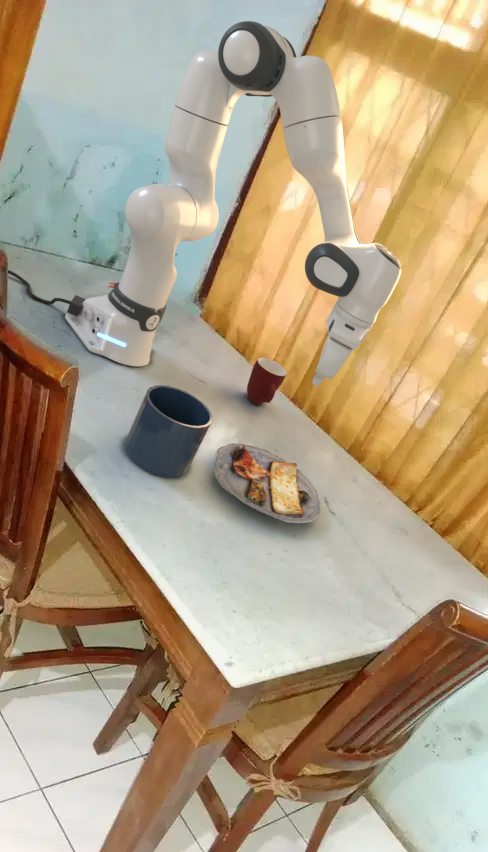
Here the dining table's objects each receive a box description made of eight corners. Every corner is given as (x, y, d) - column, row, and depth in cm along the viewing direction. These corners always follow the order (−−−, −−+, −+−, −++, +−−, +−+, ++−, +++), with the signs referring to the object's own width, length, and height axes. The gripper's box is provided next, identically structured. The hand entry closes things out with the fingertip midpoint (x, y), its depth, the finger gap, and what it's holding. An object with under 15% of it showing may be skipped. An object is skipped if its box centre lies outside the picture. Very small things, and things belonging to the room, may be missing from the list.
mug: (277, 418, 178) (296, 384, 173) (251, 413, 173) (269, 378, 168) (261, 393, 185) (278, 360, 180) (235, 388, 180) (252, 354, 175)
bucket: (110, 438, 137) (132, 387, 131) (159, 431, 148) (182, 383, 141) (152, 482, 132) (177, 431, 126) (200, 472, 142) (225, 424, 136)
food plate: (216, 437, 156) (222, 424, 155) (310, 478, 161) (318, 466, 160) (206, 501, 135) (214, 487, 134) (316, 545, 140) (324, 532, 139)
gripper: (338, 303, 157) (308, 357, 164) (331, 330, 139) (297, 389, 146) (364, 317, 157) (333, 370, 164) (359, 346, 139) (325, 404, 147)
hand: (316, 380), depth 155 cm, fingers open, 3 cm apart
